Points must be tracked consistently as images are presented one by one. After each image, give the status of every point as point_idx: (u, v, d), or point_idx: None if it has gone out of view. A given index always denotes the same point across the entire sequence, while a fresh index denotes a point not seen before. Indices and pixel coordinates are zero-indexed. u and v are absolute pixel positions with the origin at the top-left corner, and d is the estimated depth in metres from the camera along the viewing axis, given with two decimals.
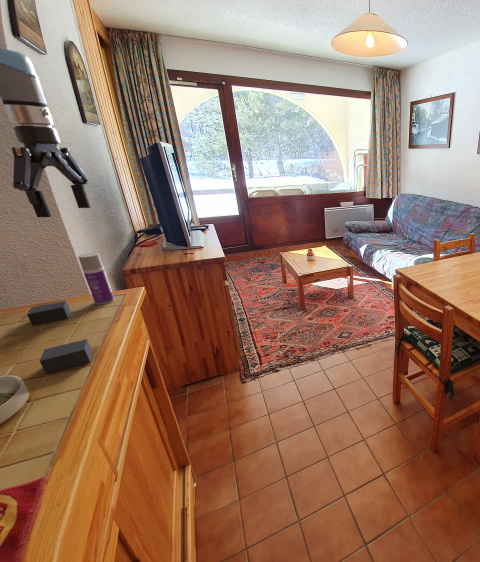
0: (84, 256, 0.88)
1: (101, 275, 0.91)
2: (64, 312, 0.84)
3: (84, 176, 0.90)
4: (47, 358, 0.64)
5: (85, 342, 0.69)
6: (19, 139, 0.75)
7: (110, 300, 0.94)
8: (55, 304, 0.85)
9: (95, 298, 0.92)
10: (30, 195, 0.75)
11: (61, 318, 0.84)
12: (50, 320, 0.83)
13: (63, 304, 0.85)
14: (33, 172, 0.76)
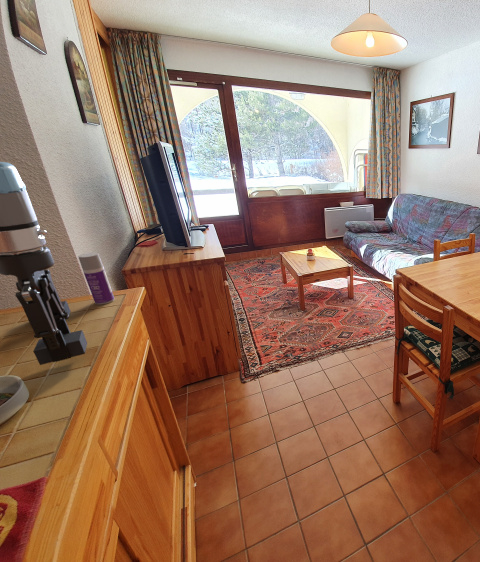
0: (84, 256, 0.88)
1: (101, 275, 0.91)
2: (64, 312, 0.84)
3: (61, 305, 0.68)
4: (41, 349, 0.63)
5: (80, 333, 0.68)
6: (8, 272, 0.56)
7: (110, 300, 0.94)
8: None
9: (95, 298, 0.92)
10: (51, 340, 0.62)
11: None
12: None
13: (63, 304, 0.85)
14: None
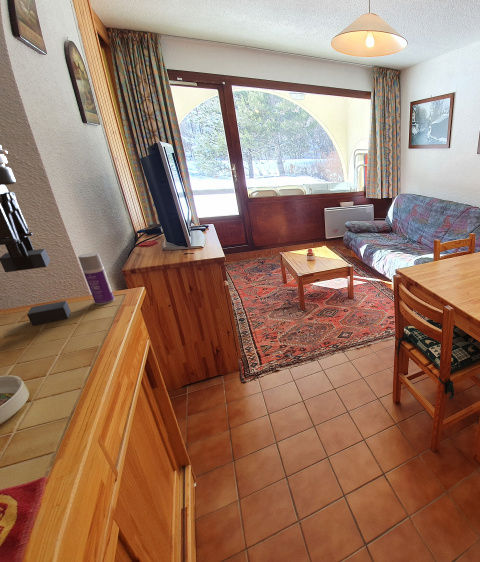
0: (84, 256, 0.88)
1: (101, 275, 0.91)
2: (64, 312, 0.84)
3: (26, 225, 0.78)
4: (6, 257, 0.72)
5: (42, 250, 0.78)
6: None
7: (110, 300, 0.94)
8: (55, 304, 0.85)
9: (95, 298, 0.92)
10: (14, 248, 0.71)
11: (61, 318, 0.84)
12: (50, 320, 0.83)
13: (63, 304, 0.85)
14: None
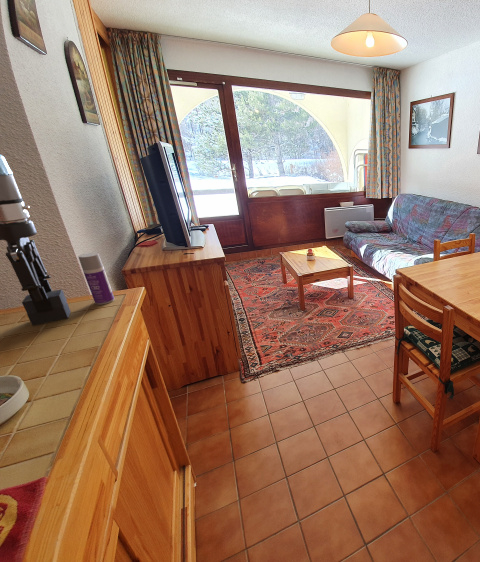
0: (84, 256, 0.88)
1: (101, 275, 0.91)
2: (64, 312, 0.84)
3: (44, 269, 0.85)
4: (28, 301, 0.79)
5: (60, 291, 0.85)
6: (0, 237, 0.73)
7: (110, 300, 0.94)
8: None
9: (95, 298, 0.92)
10: (35, 293, 0.78)
11: (61, 318, 0.84)
12: (50, 320, 0.83)
13: None
14: None
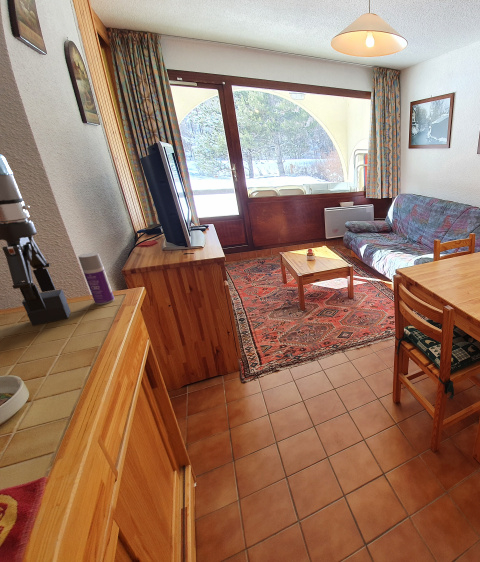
0: (84, 256, 0.88)
1: (101, 275, 0.91)
2: (64, 312, 0.84)
3: (44, 258, 0.87)
4: None
5: (60, 291, 0.85)
6: (0, 237, 0.72)
7: (110, 300, 0.94)
8: None
9: (95, 298, 0.92)
10: (28, 291, 0.75)
11: (61, 318, 0.84)
12: (50, 320, 0.83)
13: None
14: None
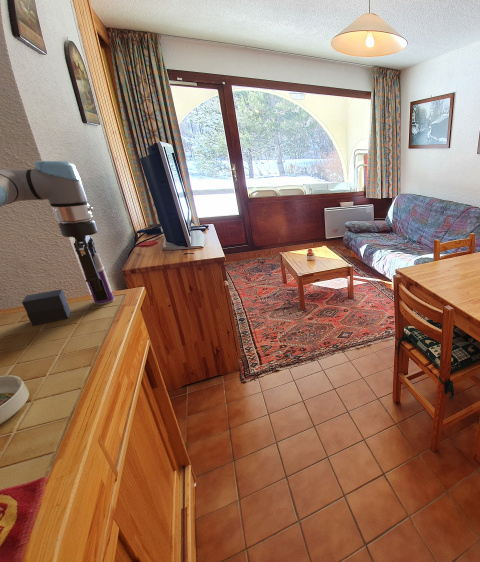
0: None
1: (101, 275, 0.91)
2: (64, 312, 0.84)
3: None
4: (28, 300, 0.79)
5: (60, 291, 0.85)
6: (70, 235, 0.83)
7: (110, 300, 0.94)
8: None
9: (95, 298, 0.92)
10: (96, 284, 0.89)
11: (61, 318, 0.84)
12: (50, 320, 0.83)
13: None
14: None
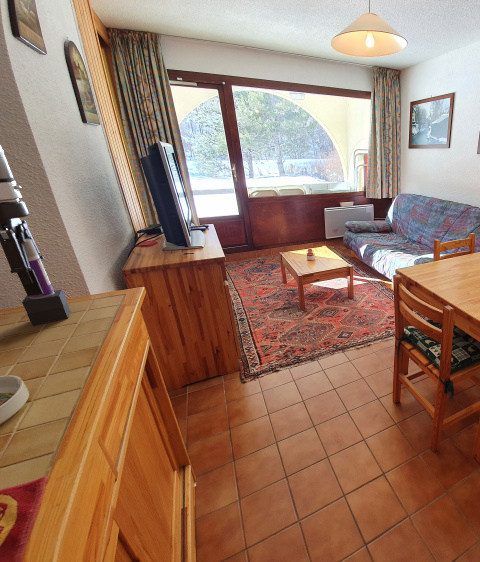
0: None
1: (35, 264, 0.79)
2: (64, 312, 0.84)
3: (37, 250, 0.84)
4: (28, 300, 0.79)
5: (60, 291, 0.85)
6: None
7: (48, 294, 0.82)
8: None
9: None
10: (25, 276, 0.75)
11: (61, 318, 0.84)
12: (50, 320, 0.83)
13: None
14: None
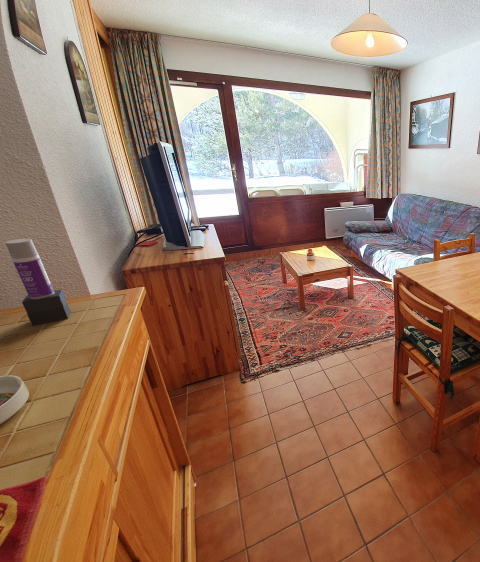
0: (12, 242, 0.75)
1: (35, 264, 0.79)
2: (64, 312, 0.84)
3: None
4: (28, 300, 0.79)
5: (60, 291, 0.85)
6: None
7: (48, 294, 0.82)
8: None
9: (28, 291, 0.80)
10: None
11: (61, 318, 0.84)
12: (50, 320, 0.83)
13: None
14: None
